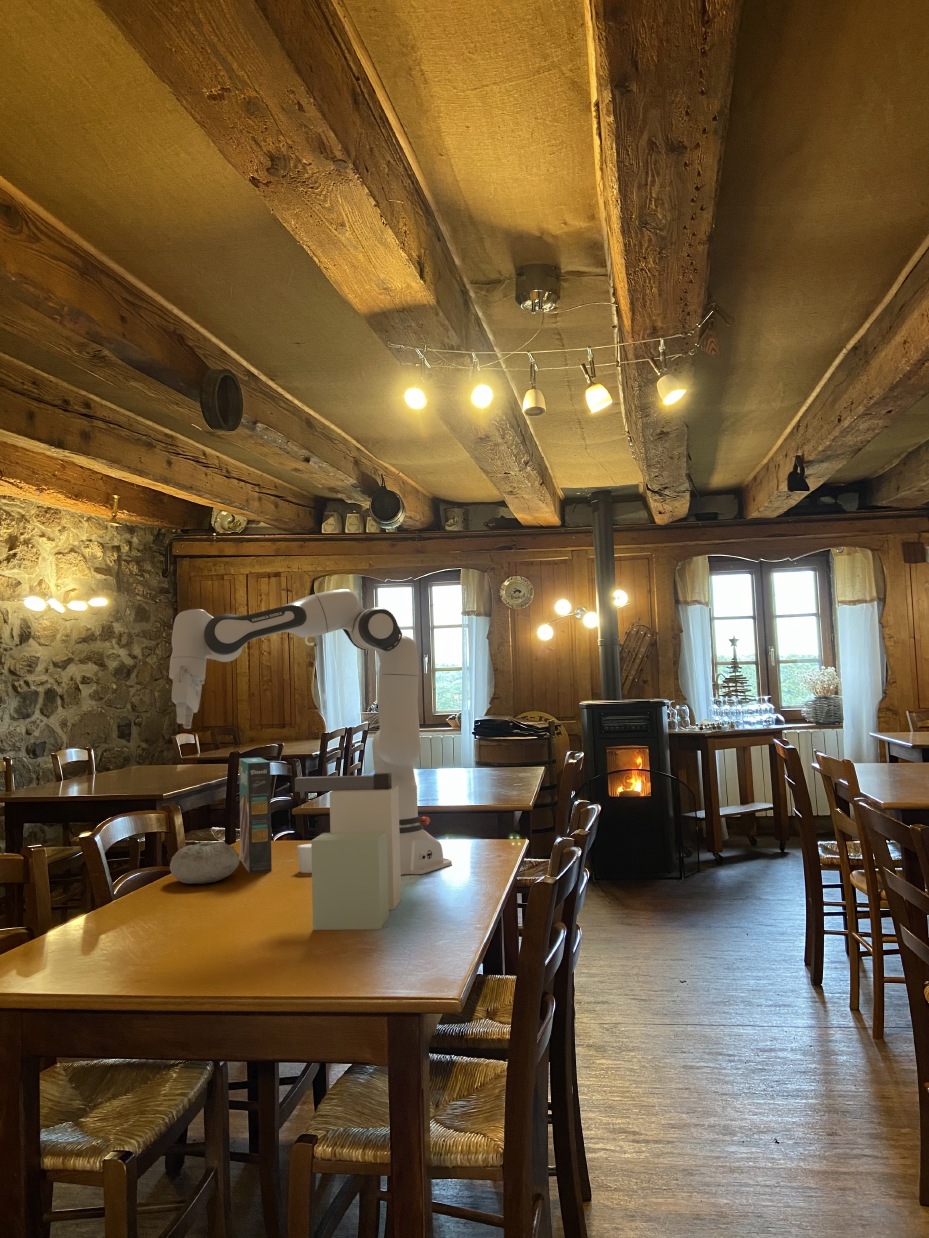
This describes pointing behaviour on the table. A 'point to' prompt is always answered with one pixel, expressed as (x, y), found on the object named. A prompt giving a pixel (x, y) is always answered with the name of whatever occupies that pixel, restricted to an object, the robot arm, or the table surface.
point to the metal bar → (344, 783)
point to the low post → (350, 881)
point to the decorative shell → (204, 863)
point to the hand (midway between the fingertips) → (183, 725)
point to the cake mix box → (255, 814)
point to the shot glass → (305, 858)
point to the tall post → (371, 825)
